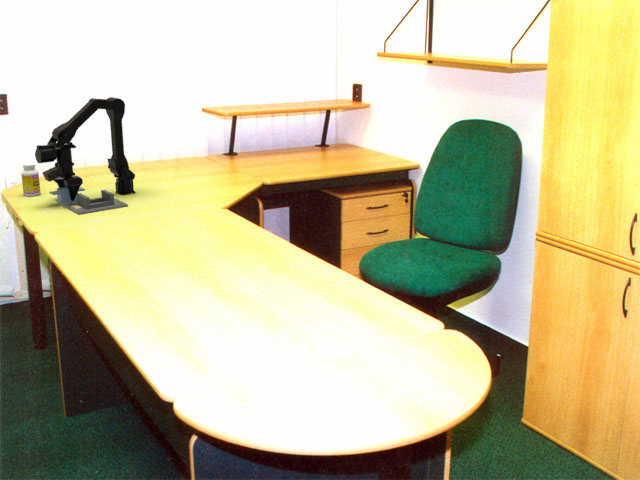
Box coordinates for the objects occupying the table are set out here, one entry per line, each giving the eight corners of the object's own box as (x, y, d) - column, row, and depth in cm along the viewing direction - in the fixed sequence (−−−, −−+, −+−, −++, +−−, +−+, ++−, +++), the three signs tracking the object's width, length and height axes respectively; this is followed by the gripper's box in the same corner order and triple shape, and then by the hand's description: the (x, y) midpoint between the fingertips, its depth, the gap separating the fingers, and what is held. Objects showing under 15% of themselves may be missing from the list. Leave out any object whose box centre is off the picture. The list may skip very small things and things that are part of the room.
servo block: (82, 199, 291) (80, 184, 290) (86, 201, 289) (84, 186, 287) (50, 204, 283) (48, 189, 282) (54, 206, 281) (52, 191, 279)
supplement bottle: (34, 197, 293) (31, 166, 289) (20, 196, 294) (16, 165, 290) (44, 193, 299) (40, 163, 296) (29, 192, 301) (26, 162, 297)
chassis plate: (112, 199, 292) (111, 186, 290) (128, 206, 281) (127, 193, 280) (64, 207, 279) (63, 194, 278) (78, 214, 269) (77, 201, 267)
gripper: (35, 158, 283) (39, 197, 287) (52, 166, 269) (56, 206, 274) (63, 155, 289) (66, 192, 294) (81, 163, 276) (85, 202, 281)
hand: (68, 198), depth 286 cm, fingers open, 9 cm apart
